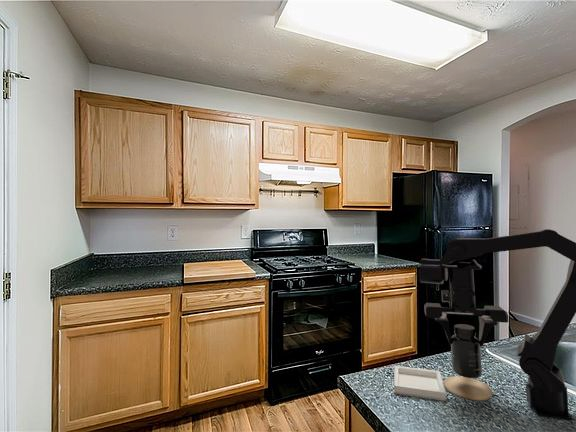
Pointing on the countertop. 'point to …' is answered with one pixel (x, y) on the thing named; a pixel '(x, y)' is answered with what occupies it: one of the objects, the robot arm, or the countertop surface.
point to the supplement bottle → (466, 352)
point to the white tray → (419, 383)
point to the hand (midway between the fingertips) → (465, 344)
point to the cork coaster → (467, 388)
